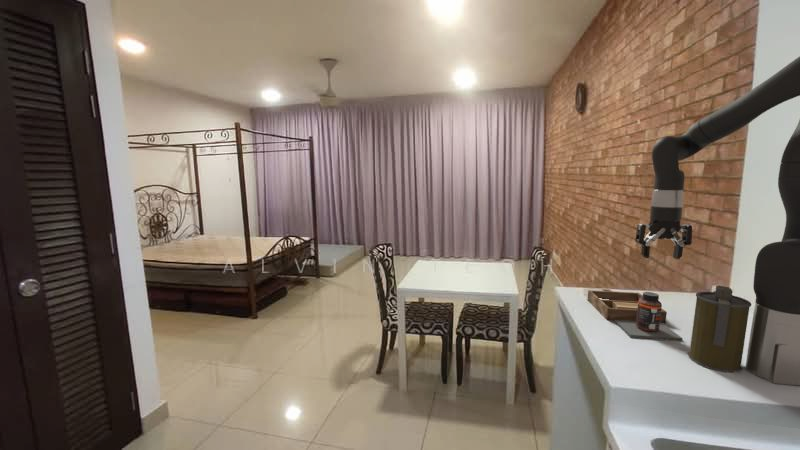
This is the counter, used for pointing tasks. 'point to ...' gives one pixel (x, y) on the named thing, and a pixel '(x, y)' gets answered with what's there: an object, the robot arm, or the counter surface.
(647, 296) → the supplement bottle
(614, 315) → the walnut tray
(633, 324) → the charcoal mat
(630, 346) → the counter surface
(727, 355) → the canister
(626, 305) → the upper offcut
